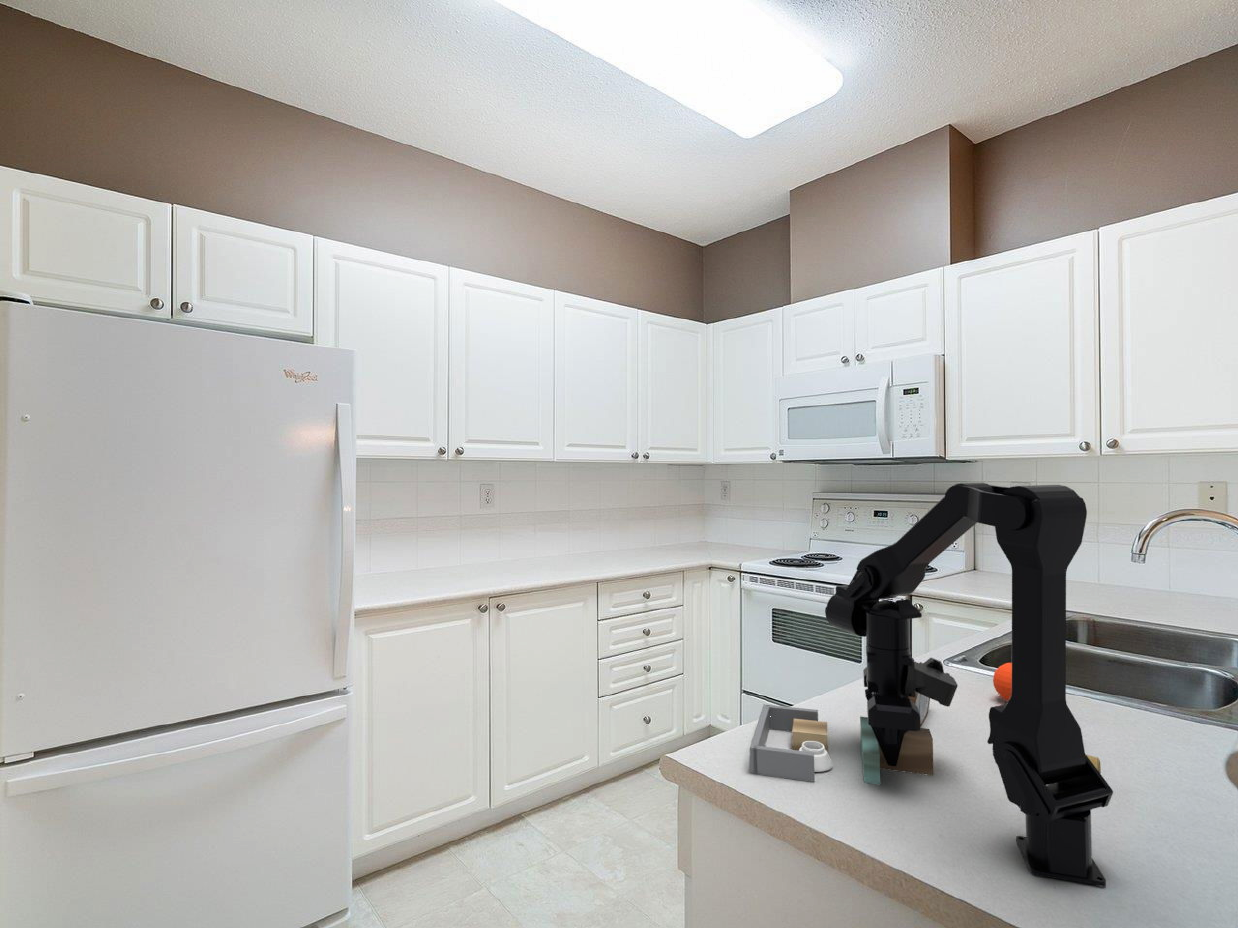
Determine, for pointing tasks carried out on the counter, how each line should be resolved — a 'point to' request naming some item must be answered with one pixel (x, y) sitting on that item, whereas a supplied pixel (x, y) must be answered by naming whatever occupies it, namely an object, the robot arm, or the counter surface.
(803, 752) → the grey u-shaped bracket
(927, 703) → the tin
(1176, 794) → the counter surface
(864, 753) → the brown and teal block
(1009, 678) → the clementine
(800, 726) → the light wooden cube
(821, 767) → the white jar
